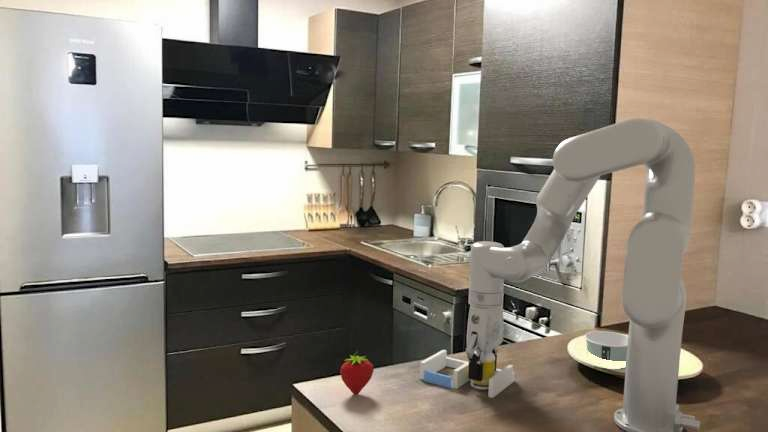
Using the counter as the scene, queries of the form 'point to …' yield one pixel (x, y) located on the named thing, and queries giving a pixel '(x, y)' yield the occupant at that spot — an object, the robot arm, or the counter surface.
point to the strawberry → (356, 373)
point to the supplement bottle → (485, 370)
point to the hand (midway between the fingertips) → (482, 374)
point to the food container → (607, 345)
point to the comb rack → (461, 373)
